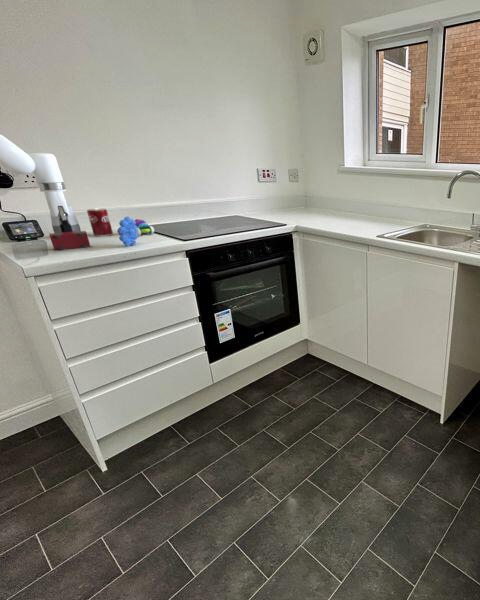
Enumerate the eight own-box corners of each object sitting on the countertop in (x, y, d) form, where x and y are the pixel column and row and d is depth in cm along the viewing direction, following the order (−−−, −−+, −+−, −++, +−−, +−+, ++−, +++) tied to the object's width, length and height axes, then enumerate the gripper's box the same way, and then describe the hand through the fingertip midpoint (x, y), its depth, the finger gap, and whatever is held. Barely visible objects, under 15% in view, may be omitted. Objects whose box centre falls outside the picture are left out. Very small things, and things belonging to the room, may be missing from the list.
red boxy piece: (54, 250, 138) (49, 236, 135) (53, 246, 141) (48, 232, 138) (90, 247, 145) (86, 233, 142) (88, 243, 148) (84, 229, 145)
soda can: (112, 233, 172) (106, 208, 168) (113, 235, 167) (106, 209, 163) (93, 234, 168) (86, 208, 163) (94, 237, 163) (86, 210, 158)
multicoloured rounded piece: (147, 231, 178) (143, 217, 175) (157, 234, 173) (154, 219, 170) (128, 234, 171) (124, 219, 168) (138, 236, 166) (134, 221, 164)
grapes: (129, 242, 155) (122, 214, 151) (145, 242, 156) (139, 215, 151) (112, 248, 144) (104, 218, 140) (130, 248, 145) (122, 219, 141)
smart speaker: (55, 236, 162) (45, 205, 157) (81, 233, 168) (72, 204, 163) (55, 239, 155) (45, 207, 150) (83, 237, 161) (73, 206, 156)
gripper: (37, 186, 138) (53, 232, 145) (40, 189, 129) (58, 238, 136) (62, 185, 143) (77, 230, 150) (67, 188, 134) (83, 235, 141)
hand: (68, 233), depth 143 cm, fingers closed
